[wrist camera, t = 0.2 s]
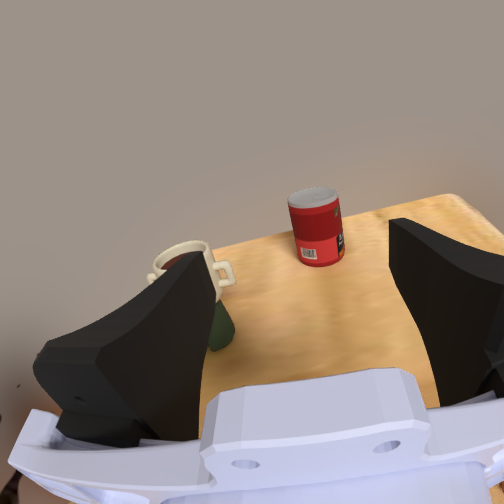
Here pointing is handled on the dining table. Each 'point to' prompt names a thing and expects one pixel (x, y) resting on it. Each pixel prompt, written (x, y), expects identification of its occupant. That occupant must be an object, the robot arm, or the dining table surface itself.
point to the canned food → (317, 226)
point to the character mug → (222, 321)
